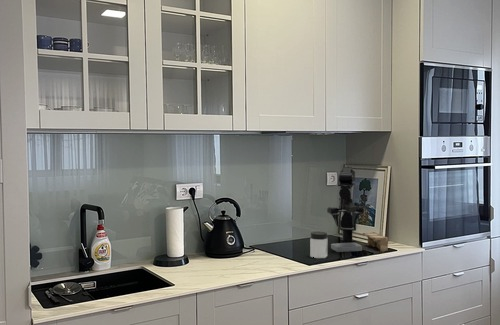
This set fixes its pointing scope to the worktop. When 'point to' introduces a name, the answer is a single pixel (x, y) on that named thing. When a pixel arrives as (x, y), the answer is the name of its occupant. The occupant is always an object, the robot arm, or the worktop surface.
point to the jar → (318, 245)
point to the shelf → (377, 241)
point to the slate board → (346, 247)
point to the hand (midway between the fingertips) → (345, 226)
